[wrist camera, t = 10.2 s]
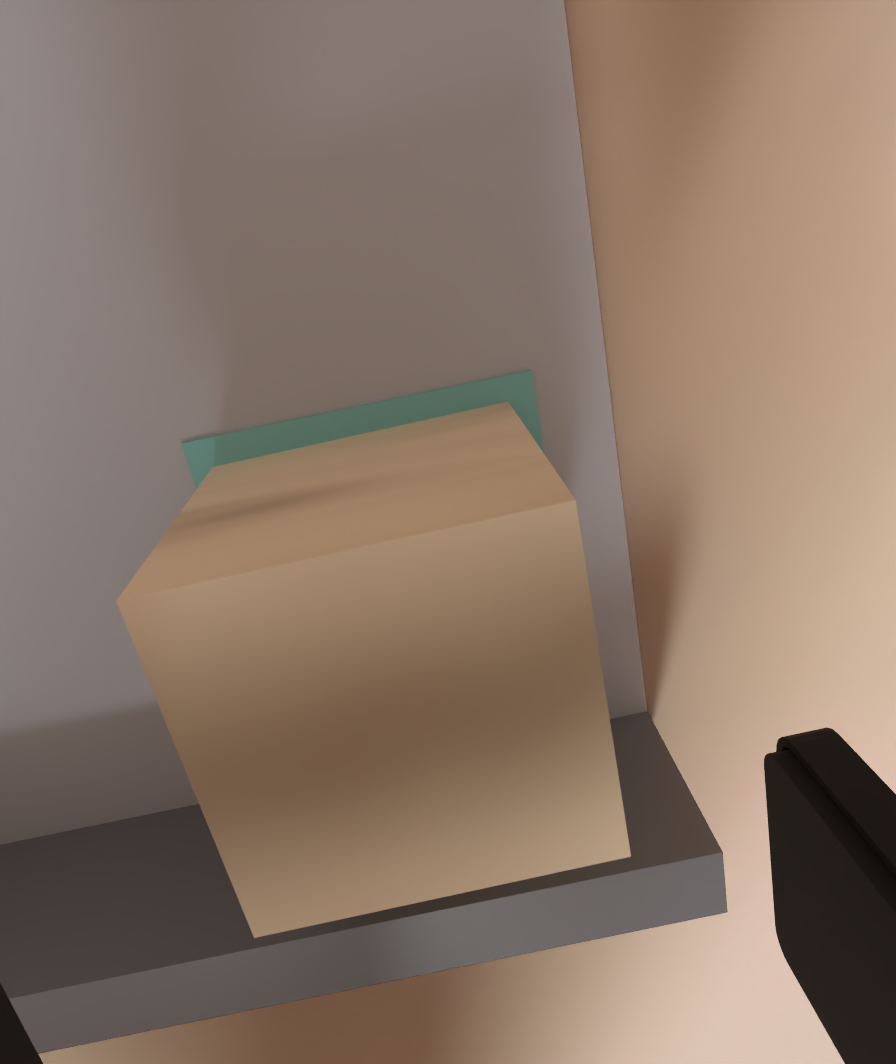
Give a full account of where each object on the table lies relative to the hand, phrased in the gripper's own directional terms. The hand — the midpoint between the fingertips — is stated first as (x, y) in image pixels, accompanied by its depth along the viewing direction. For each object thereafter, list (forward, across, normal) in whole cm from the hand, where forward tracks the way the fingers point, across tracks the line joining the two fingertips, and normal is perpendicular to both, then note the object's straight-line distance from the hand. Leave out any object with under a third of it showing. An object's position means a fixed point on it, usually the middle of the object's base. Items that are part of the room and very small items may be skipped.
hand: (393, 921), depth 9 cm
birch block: (+8, 0, -1) cm, 8 cm away
